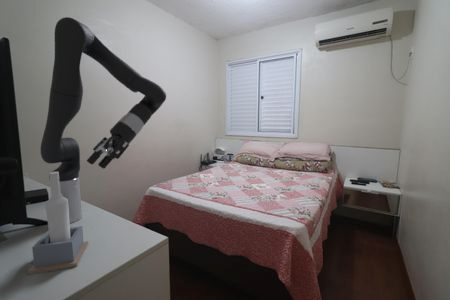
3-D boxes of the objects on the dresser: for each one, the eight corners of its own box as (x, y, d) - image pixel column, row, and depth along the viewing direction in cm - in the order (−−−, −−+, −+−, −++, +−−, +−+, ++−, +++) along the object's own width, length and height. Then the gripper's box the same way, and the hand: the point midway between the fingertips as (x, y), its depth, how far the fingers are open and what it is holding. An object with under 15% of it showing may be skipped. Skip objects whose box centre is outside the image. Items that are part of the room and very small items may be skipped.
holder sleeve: (48, 249, 66) (45, 229, 65) (88, 244, 69) (86, 224, 68) (28, 274, 56) (25, 250, 55) (76, 266, 59) (74, 243, 58)
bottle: (46, 257, 61) (37, 173, 57) (65, 247, 66) (58, 169, 62) (58, 261, 59) (49, 175, 56) (76, 251, 64) (69, 171, 60)
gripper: (110, 120, 76) (76, 155, 69) (131, 121, 68) (94, 161, 60) (124, 134, 81) (94, 168, 74) (146, 136, 73) (114, 175, 65)
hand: (94, 164), depth 67 cm, fingers open, 8 cm apart
